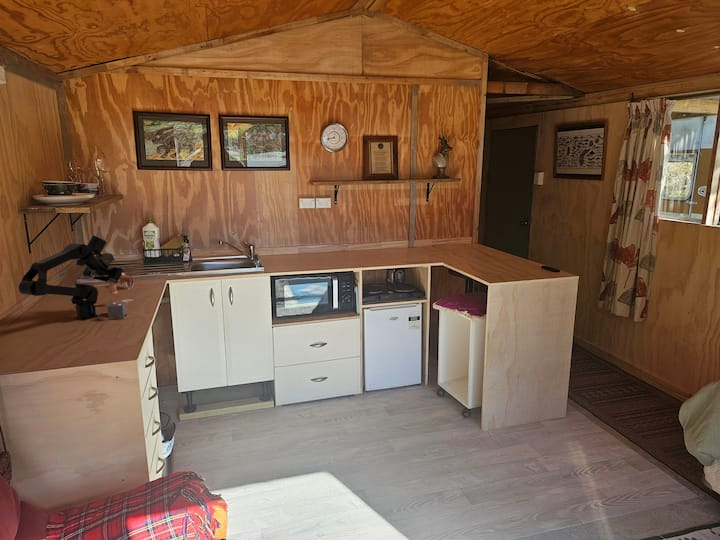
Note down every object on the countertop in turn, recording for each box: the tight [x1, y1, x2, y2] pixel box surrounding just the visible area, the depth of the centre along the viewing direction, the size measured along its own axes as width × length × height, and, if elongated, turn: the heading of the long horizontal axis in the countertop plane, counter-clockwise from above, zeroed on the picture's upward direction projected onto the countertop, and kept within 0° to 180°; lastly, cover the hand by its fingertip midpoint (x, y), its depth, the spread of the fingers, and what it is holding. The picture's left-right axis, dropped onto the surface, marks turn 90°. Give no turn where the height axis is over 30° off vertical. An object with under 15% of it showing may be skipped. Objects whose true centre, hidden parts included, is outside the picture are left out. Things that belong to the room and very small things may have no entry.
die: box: [106, 301, 128, 321], centre depth 219 cm, size 6×6×6 cm
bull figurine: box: [118, 271, 135, 290], centre depth 270 cm, size 4×13×8 cm, turn 51°
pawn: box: [107, 281, 119, 296], centre depth 232 cm, size 4×4×11 cm
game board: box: [119, 298, 133, 303], centre depth 238 cm, size 13×6×1 cm, turn 161°
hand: (114, 282), depth 233 cm, fingers closed on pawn, 3 cm apart
